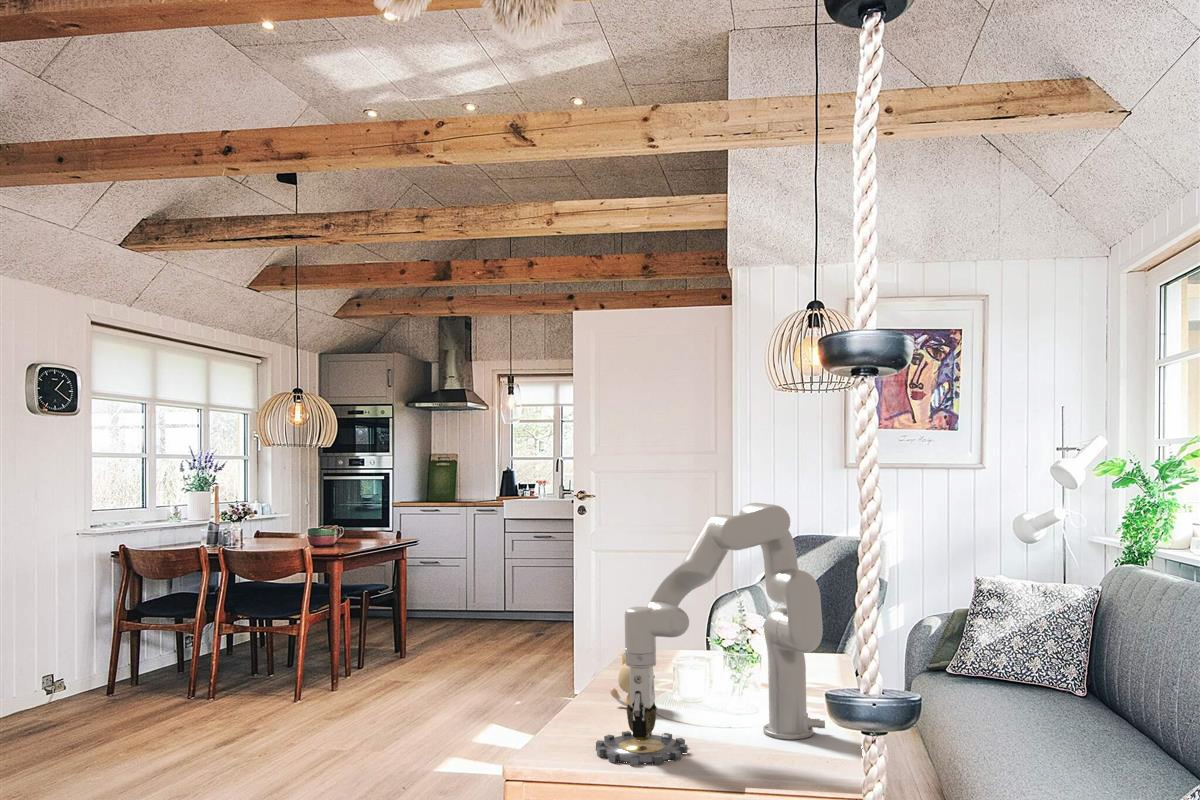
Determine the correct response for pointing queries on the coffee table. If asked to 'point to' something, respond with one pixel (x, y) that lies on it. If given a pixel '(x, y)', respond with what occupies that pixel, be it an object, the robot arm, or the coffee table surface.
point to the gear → (641, 748)
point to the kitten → (623, 684)
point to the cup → (649, 717)
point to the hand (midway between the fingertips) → (642, 732)
